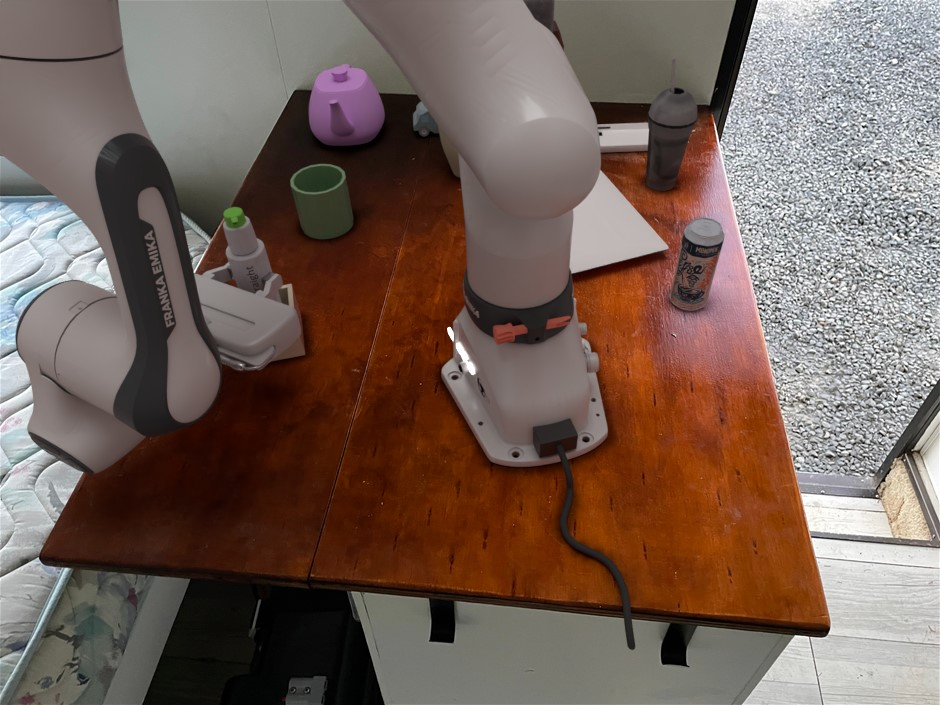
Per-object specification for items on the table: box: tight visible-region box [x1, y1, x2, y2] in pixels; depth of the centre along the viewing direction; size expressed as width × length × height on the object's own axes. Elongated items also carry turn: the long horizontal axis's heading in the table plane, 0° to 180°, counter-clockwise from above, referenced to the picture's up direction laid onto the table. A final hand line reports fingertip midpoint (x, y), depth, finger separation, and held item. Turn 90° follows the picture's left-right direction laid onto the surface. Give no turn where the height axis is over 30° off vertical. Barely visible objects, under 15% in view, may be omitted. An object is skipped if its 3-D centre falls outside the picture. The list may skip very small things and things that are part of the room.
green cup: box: [289, 163, 355, 240], centre depth 106 cm, size 8×8×8 cm
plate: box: [570, 169, 670, 275], centre depth 105 cm, size 22×22×2 cm
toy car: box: [412, 100, 439, 138], centre depth 127 cm, size 6×10×5 cm, turn 93°
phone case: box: [597, 122, 649, 154], centre depth 122 cm, size 7×1×15 cm
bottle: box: [222, 206, 282, 303], centre depth 85 cm, size 4×4×20 cm
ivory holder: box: [271, 283, 306, 362], centre depth 90 cm, size 7×7×6 cm
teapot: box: [308, 63, 386, 147], centre depth 123 cm, size 20×13×12 cm, turn 2°
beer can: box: [669, 217, 725, 311], centre depth 90 cm, size 5×5×12 cm
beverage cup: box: [645, 58, 699, 192], centre depth 106 cm, size 7×7×20 cm
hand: (258, 271), depth 84 cm, fingers closed on bottle, 4 cm apart
